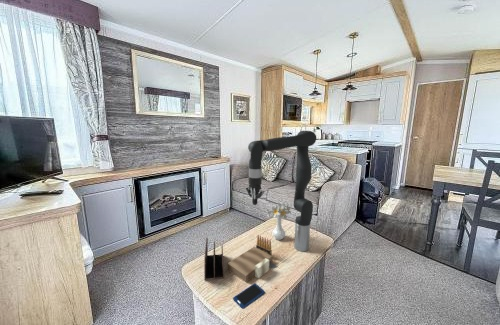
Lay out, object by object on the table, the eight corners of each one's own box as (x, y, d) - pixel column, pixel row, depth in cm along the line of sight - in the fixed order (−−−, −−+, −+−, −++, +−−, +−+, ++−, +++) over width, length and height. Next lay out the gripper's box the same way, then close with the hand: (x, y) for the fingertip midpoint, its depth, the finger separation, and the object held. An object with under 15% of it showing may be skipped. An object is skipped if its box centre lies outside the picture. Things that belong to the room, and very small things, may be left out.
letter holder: (204, 281, 103) (203, 255, 101) (206, 257, 123) (205, 235, 120) (224, 279, 105) (223, 254, 103) (223, 255, 124) (222, 234, 122)
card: (265, 258, 112) (269, 260, 110) (265, 267, 113) (269, 270, 111) (254, 265, 105) (258, 268, 104) (254, 276, 106) (258, 278, 105)
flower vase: (262, 236, 147) (262, 203, 143) (284, 231, 154) (285, 199, 150) (271, 245, 135) (271, 209, 131) (294, 240, 142) (295, 205, 138)
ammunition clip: (255, 252, 127) (256, 234, 126) (257, 251, 129) (257, 233, 127) (270, 259, 121) (270, 240, 119) (271, 257, 122) (272, 239, 120)
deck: (254, 252, 127) (254, 246, 127) (272, 262, 118) (272, 256, 117) (227, 269, 112) (227, 263, 111) (245, 282, 102) (245, 275, 101)
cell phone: (232, 299, 92) (232, 297, 92) (255, 283, 101) (255, 282, 101) (242, 310, 87) (242, 308, 86) (265, 292, 96) (265, 291, 95)
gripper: (268, 176, 116) (267, 205, 119) (251, 173, 125) (250, 200, 128) (259, 179, 111) (259, 209, 114) (242, 175, 120) (242, 203, 123)
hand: (254, 204), depth 121 cm, fingers closed
